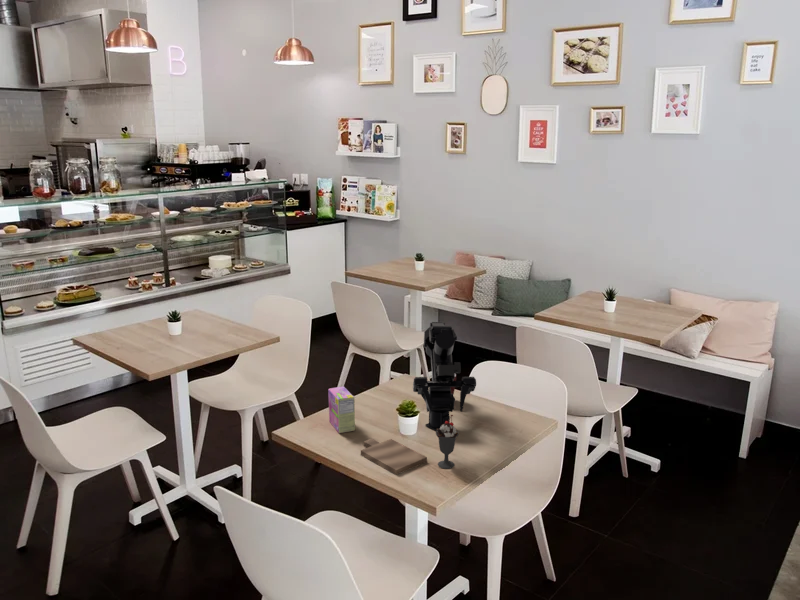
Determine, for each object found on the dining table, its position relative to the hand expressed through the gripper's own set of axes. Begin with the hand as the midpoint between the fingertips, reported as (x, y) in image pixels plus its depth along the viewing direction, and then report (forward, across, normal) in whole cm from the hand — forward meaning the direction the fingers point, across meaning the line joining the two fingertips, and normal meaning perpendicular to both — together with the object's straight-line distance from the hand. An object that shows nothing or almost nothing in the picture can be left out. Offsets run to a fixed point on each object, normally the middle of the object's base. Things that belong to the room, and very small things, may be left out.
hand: (445, 411), depth 197 cm
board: (+11, -17, +8) cm, 22 cm away
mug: (-17, +4, +38) cm, 42 cm away
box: (-4, -32, +24) cm, 40 cm away
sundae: (+15, 0, +4) cm, 16 cm away
